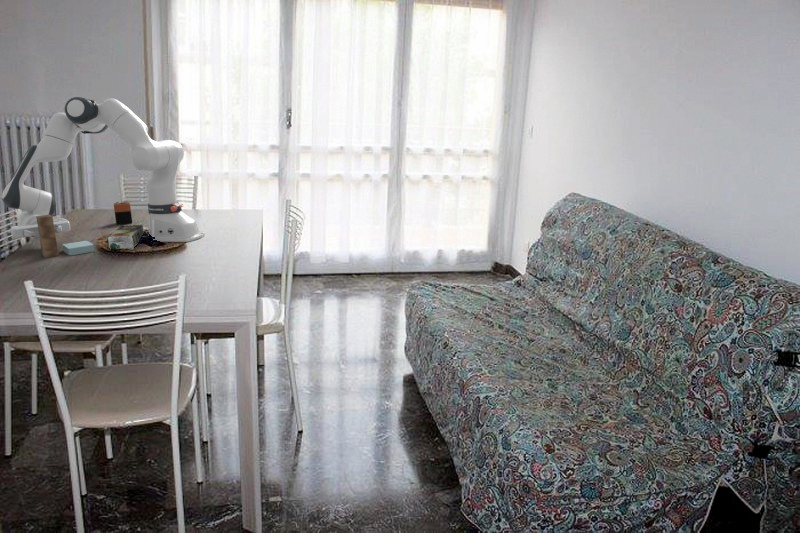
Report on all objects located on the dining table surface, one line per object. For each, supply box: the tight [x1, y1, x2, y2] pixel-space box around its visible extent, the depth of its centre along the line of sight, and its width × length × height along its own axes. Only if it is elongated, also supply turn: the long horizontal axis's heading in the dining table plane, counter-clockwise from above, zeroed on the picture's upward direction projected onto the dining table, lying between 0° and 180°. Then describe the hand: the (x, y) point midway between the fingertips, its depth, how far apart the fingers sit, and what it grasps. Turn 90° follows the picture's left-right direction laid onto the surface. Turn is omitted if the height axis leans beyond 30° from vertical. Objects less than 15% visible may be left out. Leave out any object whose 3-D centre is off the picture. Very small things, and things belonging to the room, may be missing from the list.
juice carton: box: [107, 224, 145, 250], centre depth 272 cm, size 20×10×6 cm, turn 8°
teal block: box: [61, 240, 95, 256], centre depth 263 cm, size 9×9×3 cm
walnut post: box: [36, 215, 59, 258], centre depth 256 cm, size 4×4×15 cm
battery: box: [113, 200, 133, 225], centre depth 309 cm, size 4×7×10 cm, turn 114°
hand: (45, 232), depth 257 cm, fingers open, 8 cm apart
